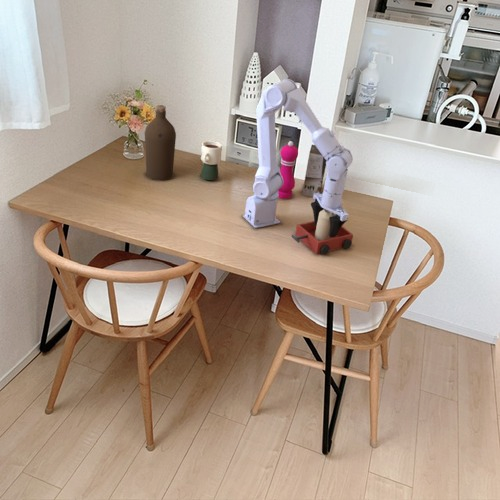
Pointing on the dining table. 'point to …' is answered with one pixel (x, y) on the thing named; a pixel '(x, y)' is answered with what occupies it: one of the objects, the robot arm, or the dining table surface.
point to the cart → (316, 245)
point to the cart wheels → (325, 247)
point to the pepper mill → (287, 170)
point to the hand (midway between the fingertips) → (325, 230)
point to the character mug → (210, 159)
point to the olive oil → (160, 146)
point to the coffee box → (314, 172)
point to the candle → (323, 225)
